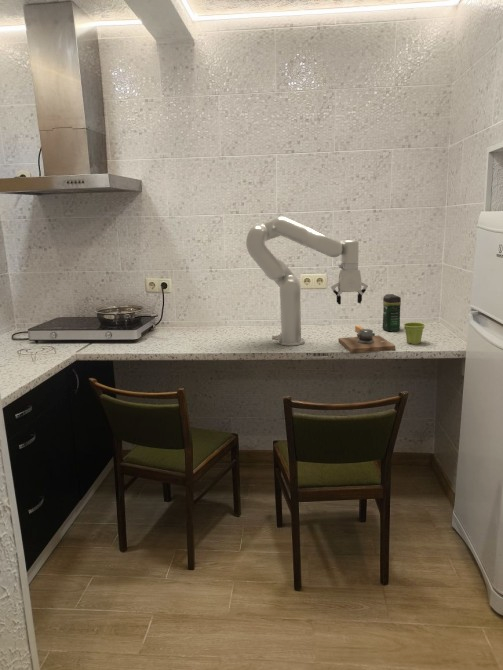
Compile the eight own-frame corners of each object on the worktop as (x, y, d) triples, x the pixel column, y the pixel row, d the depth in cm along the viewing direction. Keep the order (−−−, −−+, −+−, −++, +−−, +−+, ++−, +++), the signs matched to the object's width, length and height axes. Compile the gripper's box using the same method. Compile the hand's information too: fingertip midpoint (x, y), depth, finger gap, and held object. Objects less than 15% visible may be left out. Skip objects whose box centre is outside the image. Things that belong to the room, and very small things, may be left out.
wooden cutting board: (351, 353, 211) (351, 346, 211) (338, 342, 231) (338, 336, 230) (395, 350, 213) (395, 343, 212) (378, 339, 232) (378, 333, 232)
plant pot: (406, 345, 220) (407, 327, 217) (400, 340, 229) (401, 322, 227) (427, 344, 219) (427, 326, 217) (420, 339, 228) (420, 321, 226)
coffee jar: (402, 331, 246) (403, 295, 241) (386, 332, 245) (387, 296, 241) (395, 327, 255) (396, 292, 251) (380, 328, 255) (381, 293, 250)
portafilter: (359, 341, 218) (359, 332, 217) (349, 333, 233) (349, 325, 232) (376, 340, 219) (376, 331, 218) (365, 332, 234) (365, 324, 233)
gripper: (333, 268, 218) (333, 305, 222) (370, 267, 219) (369, 304, 223) (329, 267, 225) (329, 303, 229) (365, 265, 226) (364, 301, 230)
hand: (349, 303), depth 226 cm, fingers open, 9 cm apart
